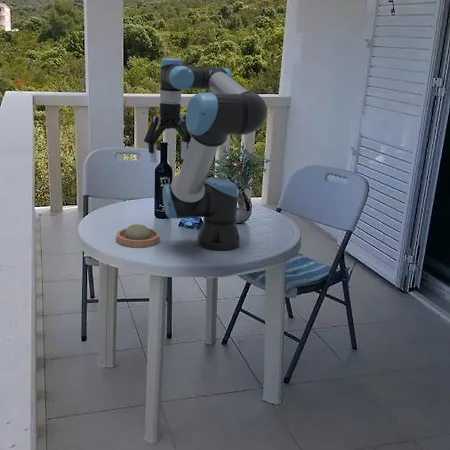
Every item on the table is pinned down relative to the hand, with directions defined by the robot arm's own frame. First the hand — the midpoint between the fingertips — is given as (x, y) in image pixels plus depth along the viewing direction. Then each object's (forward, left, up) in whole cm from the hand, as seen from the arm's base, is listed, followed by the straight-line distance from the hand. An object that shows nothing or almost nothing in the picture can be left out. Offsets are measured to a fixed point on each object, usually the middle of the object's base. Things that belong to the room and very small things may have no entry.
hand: (168, 160), depth 213 cm
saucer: (-9, +17, -26) cm, 32 cm away
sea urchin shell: (-9, +17, -26) cm, 32 cm away
